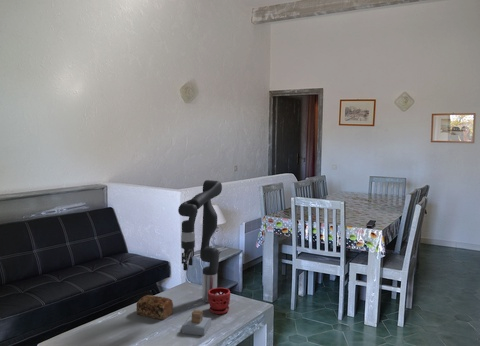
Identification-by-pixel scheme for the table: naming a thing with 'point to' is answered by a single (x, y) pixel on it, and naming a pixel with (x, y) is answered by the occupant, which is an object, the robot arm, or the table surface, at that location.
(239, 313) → the table surface
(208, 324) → the pedestal
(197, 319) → the walnut cube
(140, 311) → the bread
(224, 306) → the plant pot
